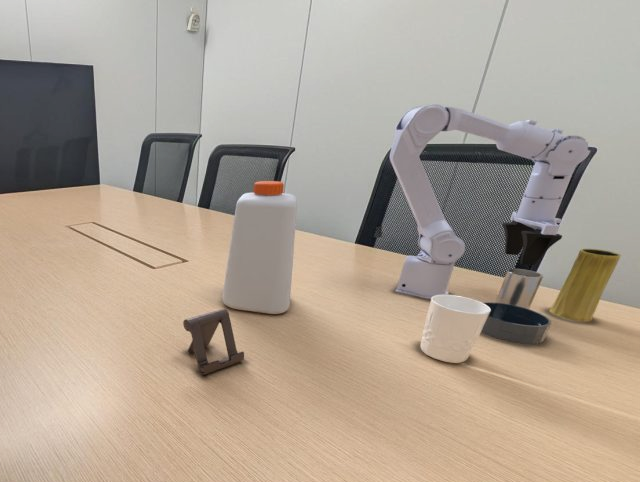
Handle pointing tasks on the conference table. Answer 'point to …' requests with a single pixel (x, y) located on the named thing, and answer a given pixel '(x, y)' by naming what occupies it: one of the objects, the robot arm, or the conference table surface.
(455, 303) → the white cup
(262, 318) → the conference table surface
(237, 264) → the plastic bottle
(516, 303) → the silver cup
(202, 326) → the tablet stand
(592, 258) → the vase
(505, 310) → the dark grey shallow bowl
